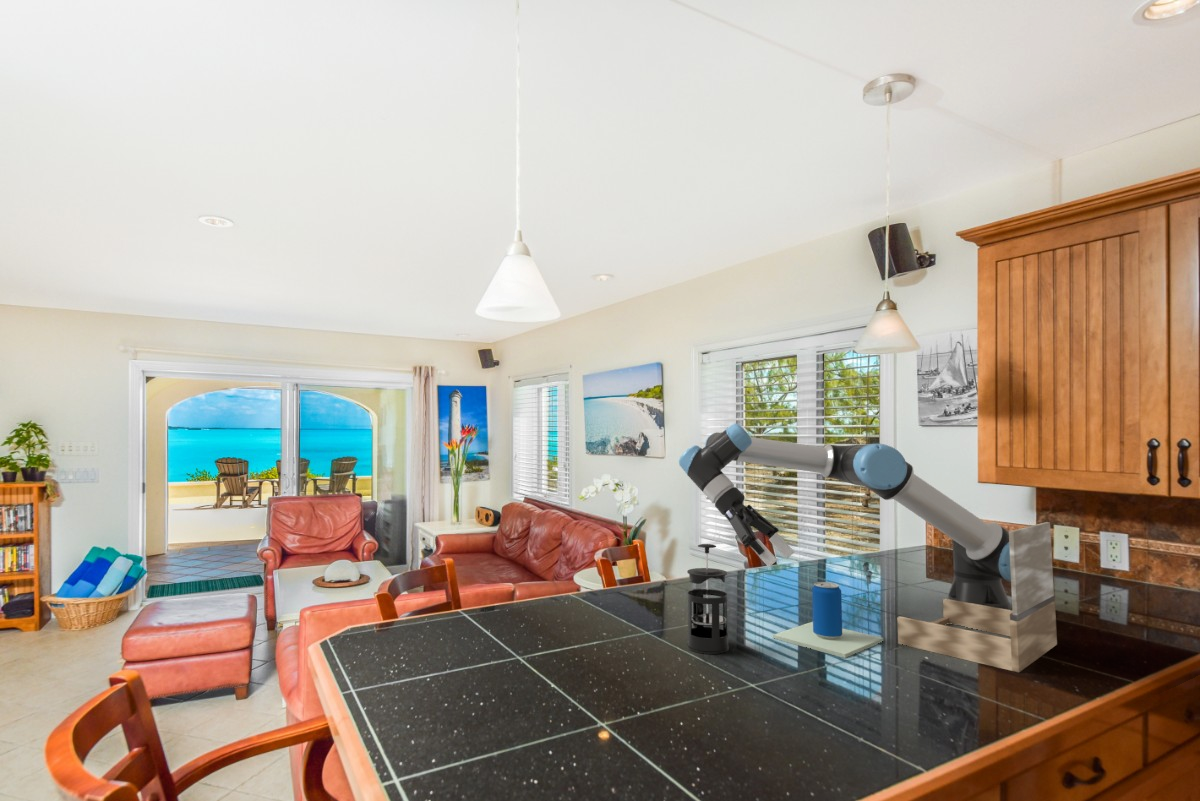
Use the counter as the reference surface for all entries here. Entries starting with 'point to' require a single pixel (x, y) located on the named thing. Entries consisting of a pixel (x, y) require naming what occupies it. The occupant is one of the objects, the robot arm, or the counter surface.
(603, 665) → the counter surface
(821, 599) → the beverage can
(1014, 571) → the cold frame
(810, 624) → the mat
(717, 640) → the french press
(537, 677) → the counter surface
